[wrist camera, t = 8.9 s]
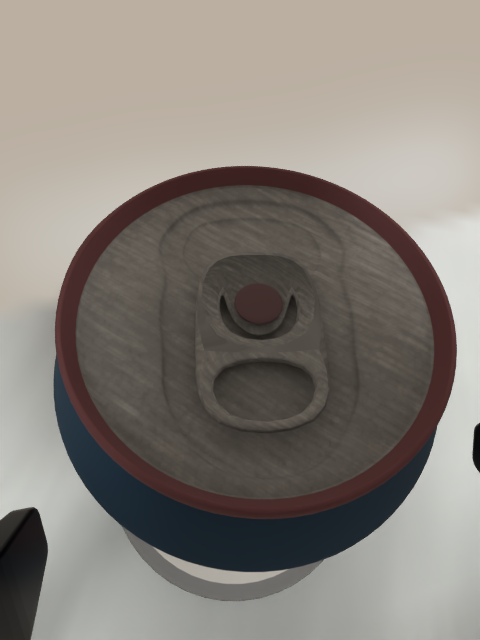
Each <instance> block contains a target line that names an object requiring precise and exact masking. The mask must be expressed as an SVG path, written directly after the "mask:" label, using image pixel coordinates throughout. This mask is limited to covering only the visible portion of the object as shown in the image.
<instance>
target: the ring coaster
mask: <svg viewBox="0 0 480 640" xmlns="http://www.w3.org/2000/svg"><path fill="white" fill-rule="evenodd" d="M122 527H123V526H122ZM123 529H124V531H125V533H126V534H127V536H128V538H129V540H130V542H131V544H132V545H133V546H134V548H135V549H136V550H137V552H138V553H139V554H140V556H141V557H142V559H143V560H144V561H145V562H146V563H147V564H148V565H149V566H150V567H151V568H152V569H153V570H154V571H155V572H157V573H158V574H159V575H161V576H162V577H163V578H165V579H166V580H167V581H169V582H170V583H172V584H174V585H176V586H178V587H180V588H181V589H183V590H185V591H187V592H190V593H193V594H196V595H199V596H202V597H205V598H210V599H216V600H222V601H245V600H251V599H258V598H262V597H266V596H269V595H272V594H275V593H278V592H280V591H282V590H284V589H286V588H288V587H290V586H292V585H294V584H296V583H297V582H298V581H300V580H301V579H303V578H304V577H305V576H307V575H308V574H310V573H311V572H312V571H313V570H314V569H315V568H316V567H317V566H318V565H319V564H320V563H321V562H322V561H323V560H324V559H323V560H321V561H318V562H315V563H312V564H308V565H305V566H301V567H296V568H291V569H286V570H280V571H270V572H236V571H225V570H219V569H214V568H209V567H204V566H201V565H197V564H193V563H190V562H187V561H184V560H181V559H179V558H176V557H174V556H171V555H169V554H167V553H165V552H163V551H161V550H159V549H157V548H155V547H153V546H151V545H149V544H148V543H146V542H144V541H143V540H141V539H139V538H138V537H136V536H135V535H134V534H132V533H131V532H130V531H128V530H127V529H126V528H124V527H123Z"/></svg>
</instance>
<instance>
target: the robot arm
mask: <svg viewBox="0 0 480 640" xmlns="http://www.w3.org/2000/svg"><path fill="white" fill-rule="evenodd" d="M473 462H474V465H475V467H476V468H477V470H478V471H479V472H480V423H479V424H477V425H476V427H475V429H474V440H473ZM47 555H48V545H47V540H46V536H45V533H44V529H43V525H42V521H41V518H40V514H39V512H38V510H37V509H36V508H34V507H30V508H25V509H20V510H15V511H12V512H10V513H9V514H7V515H6V516H5V517H4V518H2V519H1V520H0V640H31V636H32V631H33V626H34V621H35V616H36V611H37V606H38V601H39V596H40V591H41V586H42V581H43V576H44V571H45V566H46V561H47Z"/></svg>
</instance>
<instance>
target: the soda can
mask: <svg viewBox="0 0 480 640" xmlns="http://www.w3.org/2000/svg"><path fill="white" fill-rule="evenodd" d="M55 344H56V360H55V368H54V401H55V411H56V416H57V421H58V426H59V429H60V433H61V436H62V440H63V443H64V445H65V448H66V451H67V453H68V456H69V458H70V460H71V462H72V464H73V466H74V468H75V470H76V472H77V473H78V475H79V477H80V478H81V480H82V481H83V483H84V485H85V486H86V488H87V489H88V490H89V492H90V493H91V494H92V495H93V497H94V498H95V499H96V501H97V502H98V503H99V504H100V505H101V506H102V507H103V508H104V509H105V510H106V512H107V513H108V514H109V515H111V516H112V517H113V518H114V519H115V520H116V521H117V522H118V523H119V524H120V525H122V526H123V527H124V528H126V529H127V530H128V531H130V532H131V533H132V534H134V535H135V536H136V537H138V538H139V539H141V540H143V541H144V542H146V543H148V544H149V545H151V546H153V547H155V548H157V549H159V550H161V551H163V552H165V553H167V554H169V555H171V556H174V557H176V558H179V559H181V560H184V561H187V562H190V563H193V564H197V565H201V566H204V567H209V568H214V569H219V570H225V571H236V572H270V571H280V570H286V569H291V568H296V567H301V566H305V565H308V564H312V563H315V562H318V561H321V560H323V559H326V558H328V557H331V556H333V555H336V554H338V553H340V552H342V551H344V550H346V549H347V548H349V547H351V546H353V545H354V544H356V543H358V542H359V541H361V540H362V539H364V538H365V537H367V536H368V535H369V534H371V533H372V532H373V531H374V530H376V529H377V528H378V527H380V526H381V525H382V524H383V523H384V522H385V521H386V520H387V519H388V518H389V517H390V516H391V515H392V514H393V513H394V512H395V511H396V510H397V508H398V507H399V506H400V505H401V504H402V503H403V501H404V500H405V499H406V497H407V496H408V494H409V493H410V491H411V490H412V489H413V487H414V485H415V484H416V482H417V480H418V478H419V477H420V475H421V473H422V471H423V469H424V466H425V464H426V462H427V460H428V457H429V454H430V451H431V448H432V446H433V442H434V438H435V434H436V430H437V425H438V423H439V421H440V419H441V417H442V415H443V413H444V411H445V408H446V406H447V403H448V400H449V397H450V394H451V390H452V386H453V382H454V376H455V369H456V356H457V344H456V332H455V324H454V319H453V315H452V310H451V307H450V304H449V301H448V297H447V295H446V292H445V290H444V287H443V285H442V283H441V281H440V279H439V277H438V275H437V273H436V271H435V270H434V268H433V266H432V264H431V263H430V261H429V260H428V258H427V257H426V255H425V254H424V253H423V251H422V250H421V249H420V247H419V246H418V245H417V244H416V242H415V241H414V240H413V239H412V238H411V237H410V236H409V235H408V234H407V232H406V231H405V230H403V229H402V228H401V227H400V226H399V225H398V224H397V223H396V222H395V221H394V220H393V219H391V218H390V217H389V216H388V215H387V214H385V213H384V212H383V211H381V210H380V209H379V208H377V207H376V206H374V205H373V204H371V203H370V202H368V201H367V200H365V199H363V198H361V197H360V196H358V195H356V194H354V193H353V192H351V191H349V190H347V189H345V188H342V187H340V186H338V185H336V184H333V183H331V182H328V181H326V180H323V179H320V178H317V177H314V176H310V175H307V174H303V173H299V172H295V171H290V170H285V169H278V168H269V167H258V166H233V167H221V168H212V169H207V170H201V171H197V172H192V173H188V174H185V175H181V176H178V177H175V178H172V179H169V180H167V181H164V182H162V183H160V184H157V185H155V186H153V187H151V188H149V189H147V190H145V191H143V192H141V193H139V194H138V195H136V196H134V197H132V198H131V199H129V200H128V201H126V202H125V203H123V204H122V205H121V206H119V207H118V208H117V209H116V210H114V211H113V212H112V213H111V214H109V215H108V216H107V217H106V218H105V219H103V221H101V222H100V223H99V224H98V225H97V226H96V227H95V228H94V230H93V231H92V232H91V233H90V234H89V235H88V236H87V238H86V239H85V241H84V242H83V244H82V245H81V246H80V247H79V249H78V251H77V252H76V254H75V256H74V258H73V260H72V262H71V264H70V266H69V268H68V270H67V273H66V275H65V278H64V281H63V284H62V287H61V291H60V295H59V299H58V305H57V311H56V322H55Z"/></svg>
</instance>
